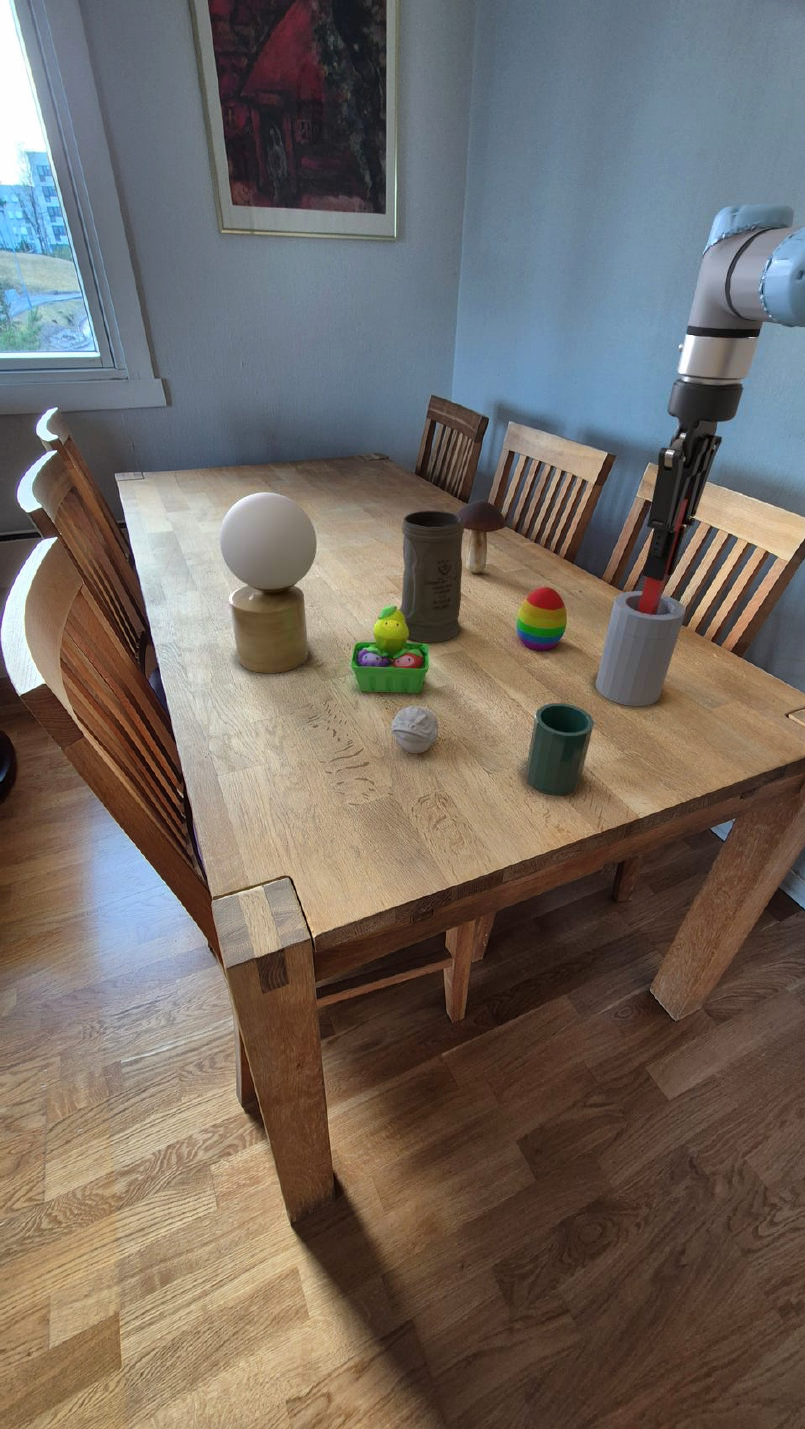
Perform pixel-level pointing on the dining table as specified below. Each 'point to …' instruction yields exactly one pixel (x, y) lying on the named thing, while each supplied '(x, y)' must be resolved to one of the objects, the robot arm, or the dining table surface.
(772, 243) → the robot arm
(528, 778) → the pen pot
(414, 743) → the grey wrinkled ball
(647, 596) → the paint brush
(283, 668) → the lamp
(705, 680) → the dining table surface
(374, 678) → the fruit basket
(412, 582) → the dark grey hollow cylinder
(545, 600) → the decorative egg
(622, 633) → the vase
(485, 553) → the decorative mushroom
